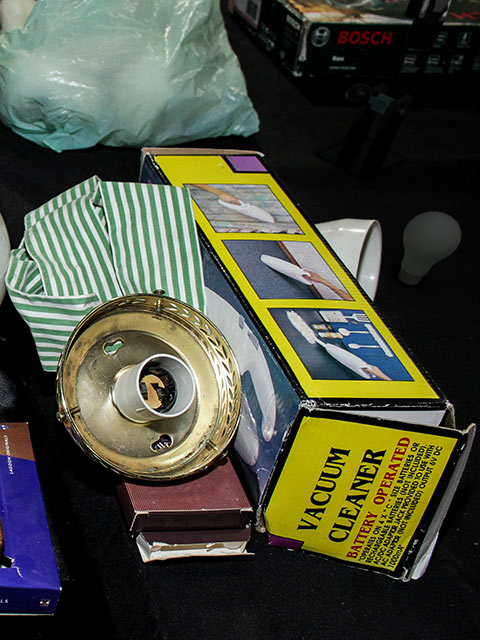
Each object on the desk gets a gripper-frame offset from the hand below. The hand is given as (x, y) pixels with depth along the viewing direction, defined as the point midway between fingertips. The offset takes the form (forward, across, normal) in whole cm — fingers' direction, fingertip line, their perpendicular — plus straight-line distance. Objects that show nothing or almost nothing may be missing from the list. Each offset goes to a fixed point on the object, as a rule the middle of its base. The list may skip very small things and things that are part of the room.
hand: (416, 33), depth 113 cm
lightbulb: (+25, -20, -8) cm, 33 cm away
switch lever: (+14, +5, +1) cm, 15 cm away
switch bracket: (+25, +9, -2) cm, 26 cm away
